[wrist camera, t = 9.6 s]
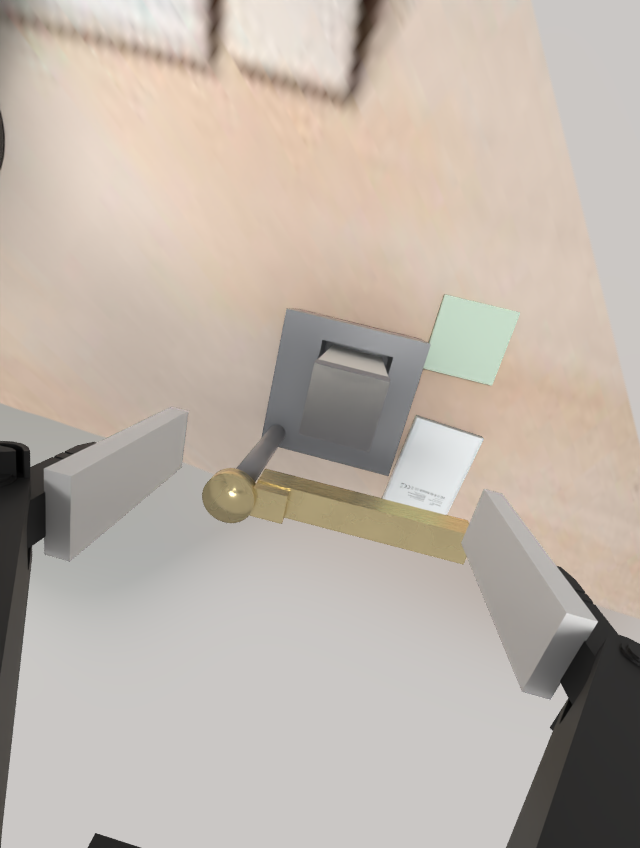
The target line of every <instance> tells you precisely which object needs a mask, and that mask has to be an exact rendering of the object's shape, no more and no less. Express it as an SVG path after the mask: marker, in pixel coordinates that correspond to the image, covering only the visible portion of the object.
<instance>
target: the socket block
mask: <svg viewBox="0 0 640 848" xmlns="http://www.w3.org/2000/svg"><path fill="white" fill-rule="evenodd" d="M332 345H335V346H339V347H343V348H347V349H351V350H355V351H359V352H363V353H367V354H371V355H375V356H379V357H382V360H383V363H384V366H385V369H386V371H387V374H388V377H390V380H391V383H390V386H389V390H388V393H387V396H386V400H385V403H384V407H383V410H382V413H381V417H380V420H379V423H378V427H377V430H376V433H375V437H374V440H373V443H372V447H371V450H370V453H367V452H363V451H360V450H356V449H352V448H348V447H344V446H341V445H337V444H333V443H329V442H325V441H322V440H318V439H314V438H310V437H306V436H302V435H299V434H298V430H299V426H300V421H301V417H302V413H303V408H304V404H305V399H306V395H307V390H308V386H309V382H310V377H311V373H312V368H313V364H314V361H315V360H317V359H319V358H320V357H321V356H322V355H323V354H324V353H325V352H326V351H327V350H328V349H329V348H330V347H331V346H332ZM430 346H431V344H430V343H428V342H426V341H424V340H422V339H419V338H415V337H411V336H406V335H402V334H398V333H394V332H390V331H386V330H382V329H378V328H374V327H370V326H366V325H362V324H358V323H354V322H350V321H346V320H342V319H338V318H333V317H329V316H325V315H321V314H317V313H313V312H309V311H305V310H301V309H287V310H286V315H285V320H284V325H283V330H282V335H281V340H280V346H279V351H278V356H277V361H276V366H275V371H274V377H273V382H272V387H271V392H270V397H269V402H268V408H267V413H266V418H265V423H264V428H263V433H262V438H261V439H260V441H259V442H258V443H257V444H256V445H255V447H254V448H253V449H252V450H251V451H250V453H249V454H248V455H247V456H246V457H245V459H244V460H243V461H242V462H241V463H240V465H239V466H238V467H237V468H236V469H239V470H241V471H244V472H245V473H247V474H248V475H249V476H250V477H251V478H252V479H253V480H254V482H255V481H256V480H257V478H258V477H259V475H260V474H261V472H262V471H263V469H264V468H265V466H266V465H267V463H268V461H269V460H270V458H271V457H272V455H273V454H274V452H275V451H276V449H277V448H278V447H281V448H285V449H288V450H292V451H296V452H300V453H303V454H307V455H311V456H315V457H319V458H322V459H326V460H330V461H334V462H337V463H341V464H345V465H349V466H353V467H356V468H360V469H364V470H368V471H371V472H375V473H379V474H383V475H387V476H389V473H390V470H391V466H392V463H393V460H394V457H395V454H396V451H397V448H398V445H399V442H400V439H401V436H402V432H403V429H404V426H405V423H406V420H407V417H408V414H409V411H410V408H411V405H412V401H413V398H414V395H415V392H416V389H417V386H418V383H419V380H420V377H421V374H422V371H423V367H424V364H425V361H426V358H427V355H428V352H429V349H430Z"/></svg>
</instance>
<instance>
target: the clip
mask: <svg viewBox="0 0 640 848" xmlns="http://www.w3.org/2000/svg"><path fill="white" fill-rule="evenodd" d="M202 499H203V503H204V506H205V508H206V510H207V511H208V512H209V513H210V514H211V515H212V516H213V517H214V518H216V519H217V520H220V521H222V522H226V523H236V522H240V521H242V520H244V519H246V518H247V517H248V516H249V515H250V516H254V517H257V518H261V519H265V520H269V521H272V522H276V523H281V524H282V522H283V519H284V518H288V519H292V520H296V521H300V522H304V523H307V524H311V525H315V526H319V527H322V528H326V529H330V530H334V531H338V532H342V533H345V534H349V535H353V536H357V537H361V538H365V539H368V540H372V541H376V542H380V543H384V544H387V545H391V546H395V547H399V548H403V549H406V550H410V551H414V552H418V553H422V554H425V555H429V556H434V557H437V558H441V559H444V560H449V561H452V562H456V563H460V564H464V562H465V559H466V557H467V556H466V554H465V551H464V549H463V547H462V544H461V542H462V540H463V537H464V535H465V533H466V530H467V528H468V526H469V523H468V520H464V519H460V518H456V517H452V516H448V515H444V514H440V513H436V512H433V511H429V510H425V509H421V508H417V507H413V506H409V505H405V504H401V503H397V502H393V501H390V500H386V499H382V498H378V497H374V496H370V495H366V494H362V493H358V492H354V491H351V490H347V489H343V488H339V487H335V486H331V485H327V484H323V483H319V482H315V481H312V480H308V479H304V478H300V477H296V476H292V475H288V474H284V473H280V472H276V471H273V470H269V469H265V470H264V471H263V473H262V475H261V476H260V478H259V479H258V482H257V483H255V482H254V480H253V479H252V478H251V477H250V476H249V475H248V474H247V473H245V472H244V471H241V470H239V469H234V468H227V469H223V470H220V471H219V472H217V473H216V474H215V475H214V476H213V477H212V478H211V479H210V480H209V481H208V482H207V484H206V485H205V487H204V489H203V493H202Z"/></svg>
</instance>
